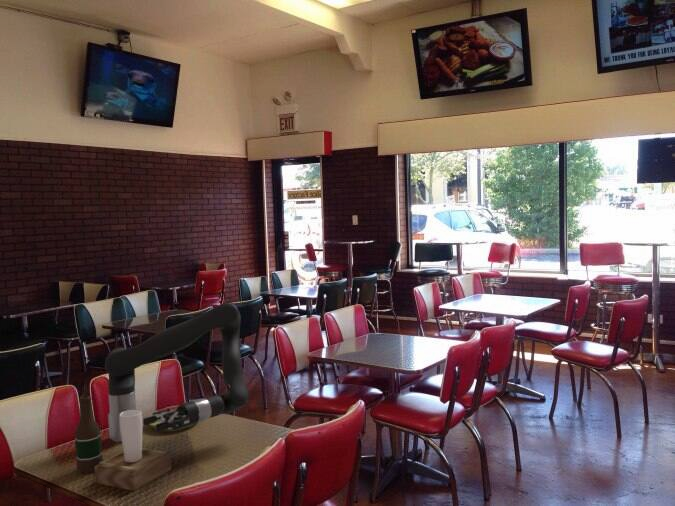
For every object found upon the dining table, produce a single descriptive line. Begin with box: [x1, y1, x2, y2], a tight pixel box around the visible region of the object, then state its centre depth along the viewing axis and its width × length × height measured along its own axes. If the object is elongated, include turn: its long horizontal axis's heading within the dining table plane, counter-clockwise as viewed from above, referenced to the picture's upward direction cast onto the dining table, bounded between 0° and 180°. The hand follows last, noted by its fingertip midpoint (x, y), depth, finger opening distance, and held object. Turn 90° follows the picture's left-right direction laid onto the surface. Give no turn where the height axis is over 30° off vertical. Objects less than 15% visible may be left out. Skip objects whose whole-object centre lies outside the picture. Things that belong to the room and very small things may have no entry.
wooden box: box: [94, 447, 172, 492], centre depth 187 cm, size 16×16×6 cm
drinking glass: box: [119, 409, 144, 463], centre depth 186 cm, size 7×7×15 cm
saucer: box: [148, 408, 195, 432], centre depth 233 cm, size 21×21×3 cm
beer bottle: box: [74, 395, 104, 474], centre depth 193 cm, size 8×8×24 cm
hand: (149, 425), depth 190 cm, fingers open, 8 cm apart
